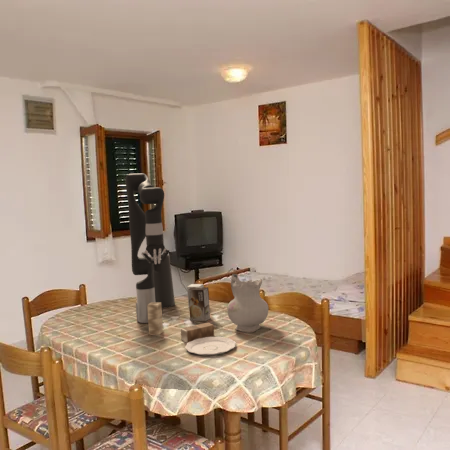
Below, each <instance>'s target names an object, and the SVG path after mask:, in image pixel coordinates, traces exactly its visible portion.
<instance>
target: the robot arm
mask: <svg viewBox="0 0 450 450" xmlns="http://www.w3.org/2000/svg"><path fill="white" fill-rule="evenodd" d="M125 188H126V189H125V190H126V197H127V205H128V207H127V208H128V223H129V224H128V226H129V235H130V246H131V248H130V249H131V253H130V254H131V271H132V274H133V275H134V276H145V275H147V276H146V277H145V278H144V279H142V280H139V281H137V282H136V283H135V289H136V290H135V291H136V293H135V294H136V302H135V311H136V314H135V315H136V322H139V323H140V324H148V310H147V305H148V304H149V303H151V302H155V288H154V272H159V271H160V263H161V262H163V261H164V260H165V258H166V257H167V255H169V253H170V249H167V248H166V246H165V245H164V244H165V243H164V241H165V240H164V228H163V220H162V218H163V217H162V212H163V211H162V210H163V205H164V200H165V191H164V189H163V188H162V187H159V186H158V187H154V186H153V184H151V180H150V178H149V176H148V175H147V174H146V173H127V174H126V175H125ZM135 193H138V195H139V200H140V203H142V204H143V205H153V204H154V207H153V208H150V209H147V210H146V211H143V209H142V207H141V206H140V205H139V203H138V202H137V200H136V197H135V195H134V194H135ZM145 240H146V241H145ZM144 241H145V243H146V248H145V251H143V252H141V256H138V255H139V251H140V248H141V245H143V242H144ZM149 255H150V256H149ZM161 255H162V256H161Z"/></svg>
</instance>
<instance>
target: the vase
mask: <svg viewBox="0 0 450 450" xmlns="http://www.w3.org/2000/svg"><path fill="white" fill-rule="evenodd" d="M161 256H162V254H161ZM154 288H155V302H161V307H162V309H163V308H164V309H165V308H169V307H173V306H175V304H176V302H175V294H174V284H173V276H172V268H171V258H170V255H169V254H168V255H167V257H166V258H165V260H164V261H163V262H161V263H160V271H159V272H154Z"/></svg>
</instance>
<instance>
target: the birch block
mask: <svg viewBox="0 0 450 450" xmlns="http://www.w3.org/2000/svg"><path fill="white" fill-rule="evenodd" d="M162 309H163V308H162V307H161V302H151V303H149V304H148V305H147V310H148V323H147V324H148V335H149V336H160V335H161V334H162V333H163V332H164V327H163V326H164V325H163V314H162V313H163V311H162Z"/></svg>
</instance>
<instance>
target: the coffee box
mask: <svg viewBox="0 0 450 450" xmlns="http://www.w3.org/2000/svg"><path fill="white" fill-rule="evenodd" d="M209 293H210V291H209V287H207V286H206V287H205V286H204V287H192V288H190V289H188V292H187V298H188V297H189V306H188V309H189V310H188V311H189V320H190V321H194V322H195V321H197V322H207V321H208V320H210V319H211V307H210V297H209V296H210V294H209Z"/></svg>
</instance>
